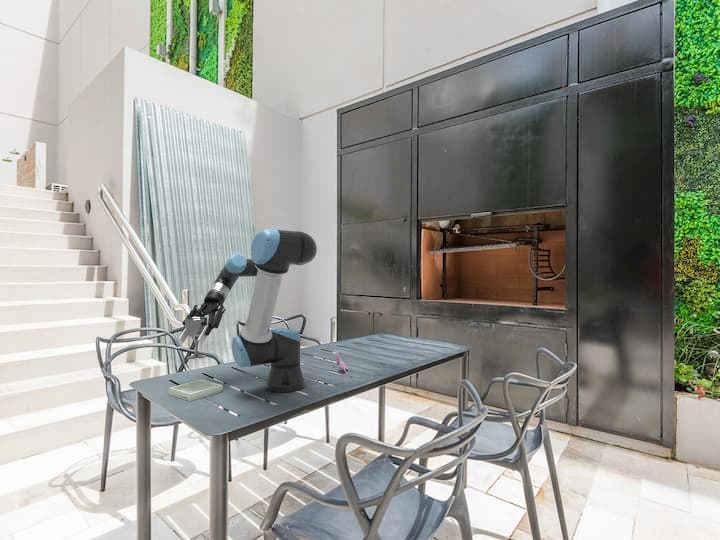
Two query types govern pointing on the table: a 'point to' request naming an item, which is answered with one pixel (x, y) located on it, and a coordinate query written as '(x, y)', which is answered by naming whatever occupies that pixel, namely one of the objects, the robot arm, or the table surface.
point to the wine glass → (195, 332)
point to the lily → (339, 362)
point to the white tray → (195, 390)
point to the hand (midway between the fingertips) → (190, 341)
